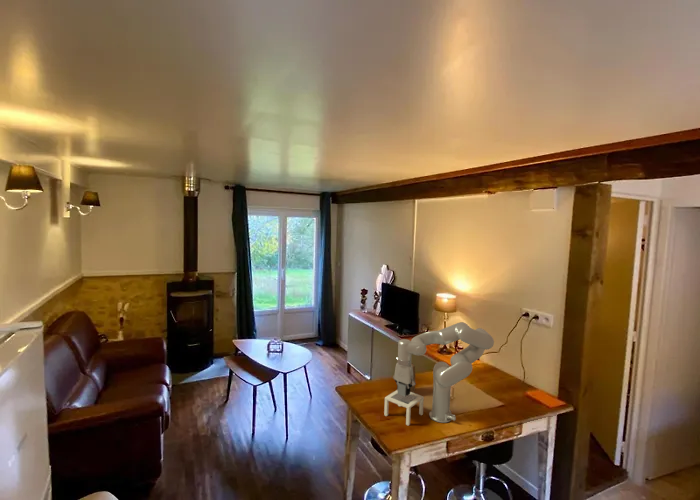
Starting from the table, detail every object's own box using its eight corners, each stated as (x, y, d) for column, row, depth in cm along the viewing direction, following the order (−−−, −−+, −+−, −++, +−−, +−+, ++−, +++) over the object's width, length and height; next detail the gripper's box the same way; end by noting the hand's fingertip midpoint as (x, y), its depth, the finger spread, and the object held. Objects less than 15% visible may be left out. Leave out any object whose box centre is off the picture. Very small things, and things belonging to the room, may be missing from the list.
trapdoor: (416, 398, 213) (416, 397, 213) (407, 404, 206) (407, 403, 206) (401, 392, 220) (401, 391, 220) (391, 398, 212) (391, 397, 212)
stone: (405, 396, 208) (405, 386, 207) (397, 393, 211) (397, 383, 210) (409, 393, 212) (410, 383, 211) (402, 390, 215) (402, 380, 214)
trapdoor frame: (422, 414, 215) (423, 396, 214) (408, 425, 202) (409, 407, 201) (399, 404, 225) (399, 388, 224) (384, 415, 213) (384, 397, 212)
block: (415, 395, 237) (416, 365, 235) (405, 397, 234) (406, 366, 232) (406, 388, 247) (407, 359, 245) (396, 390, 244) (397, 360, 242)
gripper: (388, 359, 212) (387, 390, 214) (414, 367, 201) (413, 400, 203) (395, 356, 218) (394, 386, 220) (421, 363, 207) (420, 395, 209)
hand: (403, 392), depth 211 cm, fingers closed on stone, 5 cm apart
